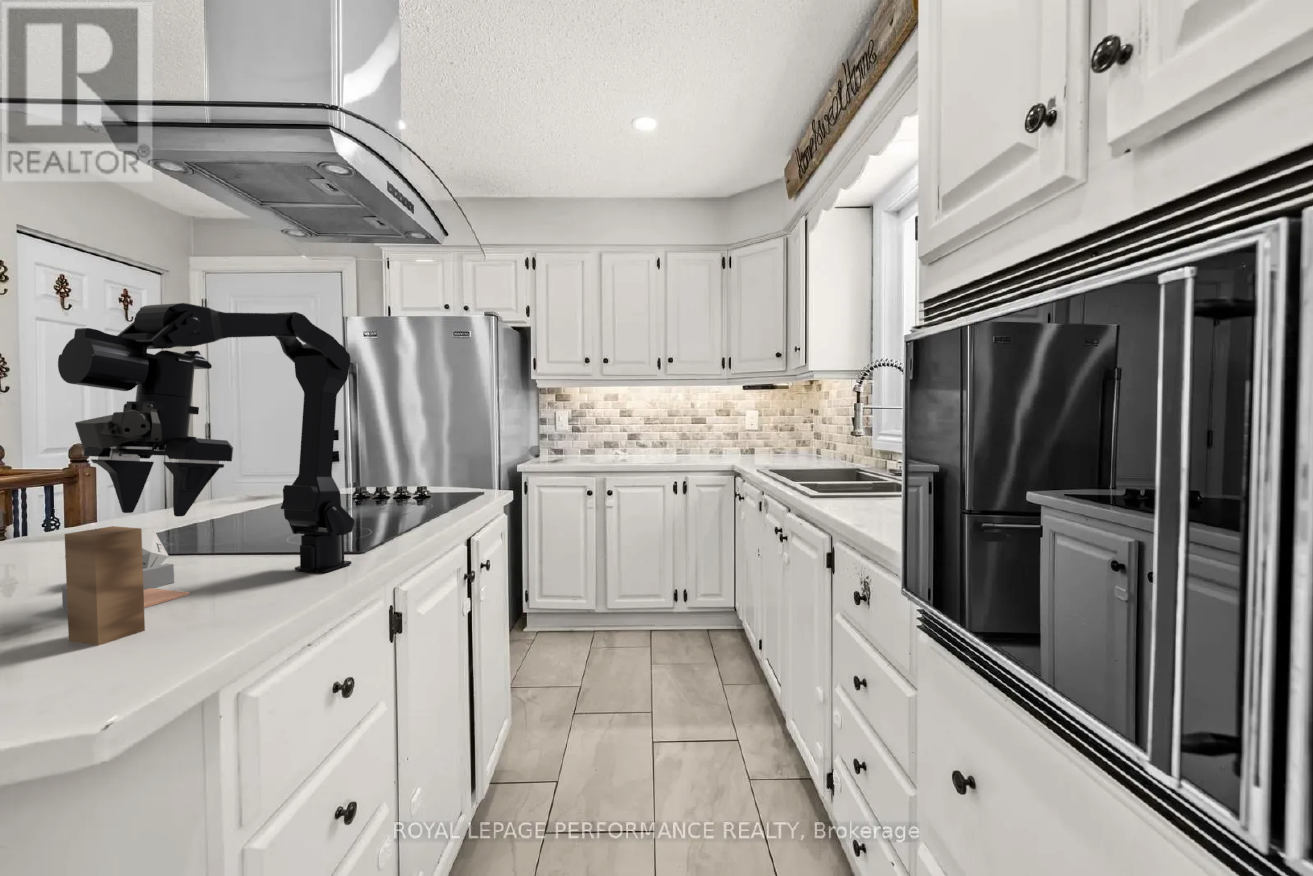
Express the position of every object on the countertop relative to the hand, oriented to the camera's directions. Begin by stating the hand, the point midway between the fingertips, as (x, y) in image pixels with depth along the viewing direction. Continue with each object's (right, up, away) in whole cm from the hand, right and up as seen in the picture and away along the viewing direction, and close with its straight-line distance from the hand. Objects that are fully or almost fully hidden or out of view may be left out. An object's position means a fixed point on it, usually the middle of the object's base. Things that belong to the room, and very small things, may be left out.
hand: (153, 514), depth 78 cm
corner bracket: (-10, -14, +10) cm, 19 cm away
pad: (-9, -14, +9) cm, 19 cm away
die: (-21, -13, +20) cm, 32 cm away
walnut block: (-2, -14, -5) cm, 15 cm away
